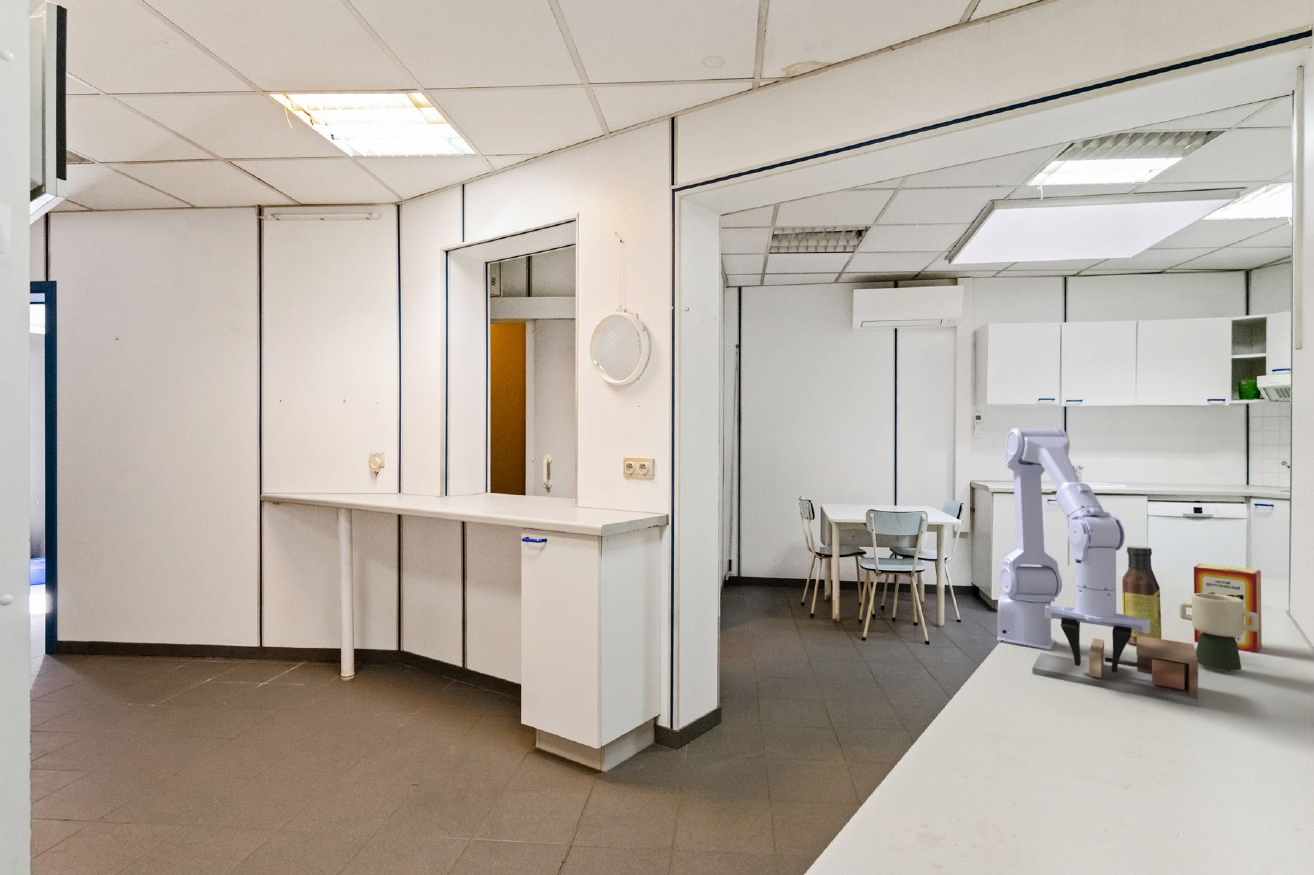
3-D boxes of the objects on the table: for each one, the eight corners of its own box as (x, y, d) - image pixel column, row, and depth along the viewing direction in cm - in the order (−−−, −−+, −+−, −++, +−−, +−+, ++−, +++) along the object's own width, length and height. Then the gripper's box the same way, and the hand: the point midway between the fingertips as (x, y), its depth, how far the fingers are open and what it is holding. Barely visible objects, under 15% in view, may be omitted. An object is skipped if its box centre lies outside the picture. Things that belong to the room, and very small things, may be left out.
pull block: (1089, 676, 104) (1089, 651, 104) (1093, 661, 112) (1093, 638, 112) (1185, 694, 97) (1185, 667, 97) (1182, 677, 105) (1182, 652, 105)
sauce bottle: (1168, 650, 124) (1167, 550, 124) (1133, 647, 125) (1132, 548, 126) (1149, 640, 130) (1148, 545, 131) (1116, 638, 131) (1115, 544, 132)
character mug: (1263, 674, 111) (1262, 600, 111) (1254, 682, 106) (1253, 605, 107) (1185, 657, 119) (1185, 589, 120) (1174, 664, 115) (1173, 593, 116)
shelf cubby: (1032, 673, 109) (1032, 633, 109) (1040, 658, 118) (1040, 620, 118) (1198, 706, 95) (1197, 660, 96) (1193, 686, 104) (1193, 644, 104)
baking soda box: (1194, 641, 130) (1193, 565, 130) (1200, 636, 134) (1200, 562, 134) (1257, 653, 123) (1256, 572, 123) (1261, 647, 127) (1260, 568, 127)
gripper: (1042, 584, 107) (1042, 664, 107) (1149, 597, 98) (1150, 684, 98) (1047, 578, 113) (1047, 654, 112) (1149, 590, 104) (1150, 672, 103)
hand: (1095, 667), depth 105 cm, fingers open, 4 cm apart
